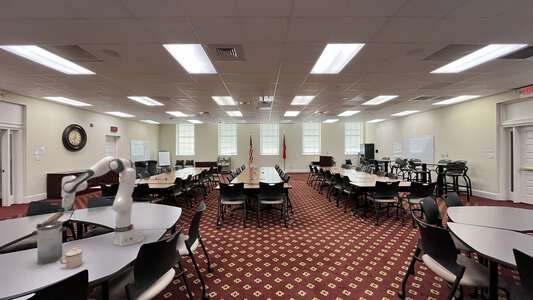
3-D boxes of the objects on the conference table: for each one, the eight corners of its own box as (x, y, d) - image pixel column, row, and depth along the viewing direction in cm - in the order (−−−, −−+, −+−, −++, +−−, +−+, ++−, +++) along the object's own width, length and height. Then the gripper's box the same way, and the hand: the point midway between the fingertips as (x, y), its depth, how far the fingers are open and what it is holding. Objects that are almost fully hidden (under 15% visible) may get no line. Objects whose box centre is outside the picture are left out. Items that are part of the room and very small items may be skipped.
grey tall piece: (68, 253, 177) (68, 216, 176) (62, 261, 164) (62, 222, 163) (38, 258, 169) (37, 220, 168) (29, 267, 156) (28, 226, 155)
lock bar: (63, 214, 188) (63, 209, 188) (50, 225, 163) (50, 219, 163) (58, 215, 186) (58, 209, 186) (44, 226, 162) (44, 219, 161)
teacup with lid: (83, 260, 166) (83, 244, 165) (81, 266, 158) (81, 249, 158) (61, 265, 159) (60, 248, 159) (58, 271, 151) (58, 254, 151)
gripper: (69, 196, 189) (68, 213, 189) (76, 192, 207) (75, 207, 207) (59, 197, 186) (58, 214, 186) (67, 192, 204) (66, 208, 204)
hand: (67, 210), depth 197 cm, fingers open, 8 cm apart
